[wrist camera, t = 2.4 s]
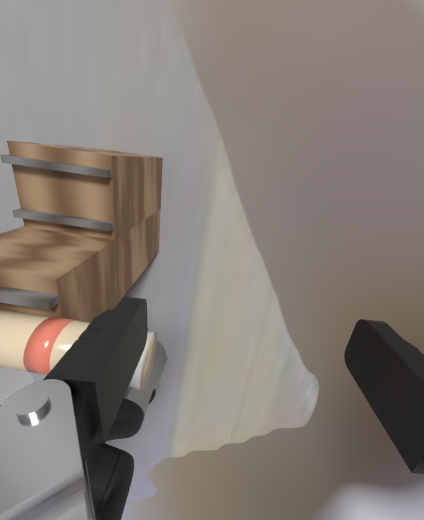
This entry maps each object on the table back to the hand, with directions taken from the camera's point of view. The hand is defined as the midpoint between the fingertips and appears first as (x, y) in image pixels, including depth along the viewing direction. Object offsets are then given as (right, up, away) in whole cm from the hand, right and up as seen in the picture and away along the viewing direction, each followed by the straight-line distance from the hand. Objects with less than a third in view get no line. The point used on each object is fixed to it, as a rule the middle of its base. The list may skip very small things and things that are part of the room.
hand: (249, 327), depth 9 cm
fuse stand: (-18, +14, +40) cm, 47 cm away
